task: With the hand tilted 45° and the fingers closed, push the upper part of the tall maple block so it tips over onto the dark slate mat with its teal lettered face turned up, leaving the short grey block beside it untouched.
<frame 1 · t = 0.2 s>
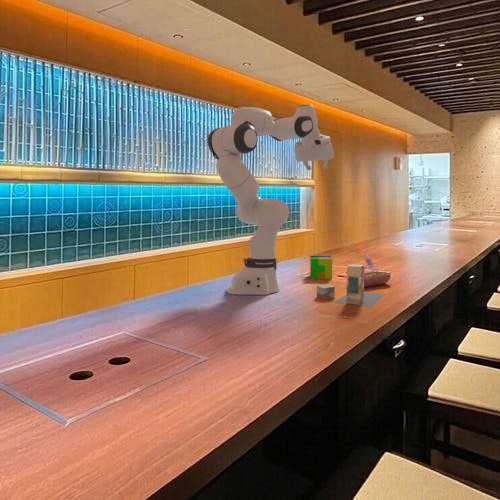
hand: (316, 169, 220), 52 cm above the counter, tool tilted 20°, fingers open, 8 cm apart
maple block: (355, 302, 176), resting on slate mat
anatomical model: (368, 286, 208), on the counter
puzzle toy: (320, 277, 230), on the counter
slate mat: (360, 299, 182), on the counter
lily: (369, 274, 236), on the counter
grey block: (325, 298, 184), on the counter
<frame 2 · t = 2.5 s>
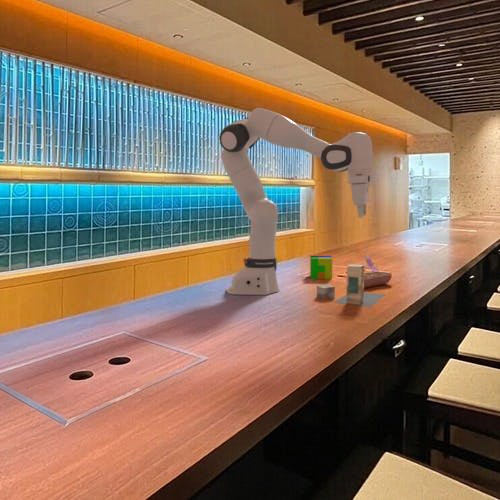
hand: (362, 216, 171), 33 cm above the counter, tool pointing down, fingers open, 8 cm apart
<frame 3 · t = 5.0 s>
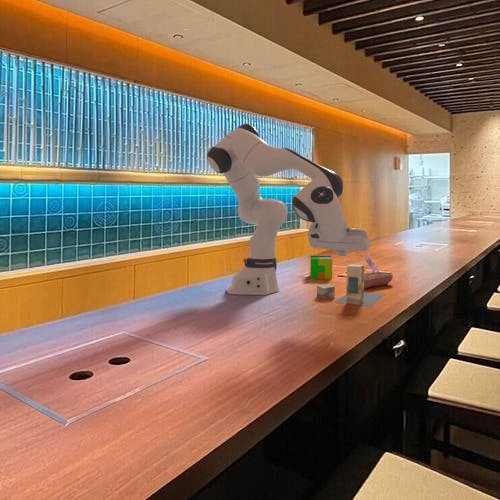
hand: (343, 254, 163), 20 cm above the counter, tool tilted 45°, fingers closed
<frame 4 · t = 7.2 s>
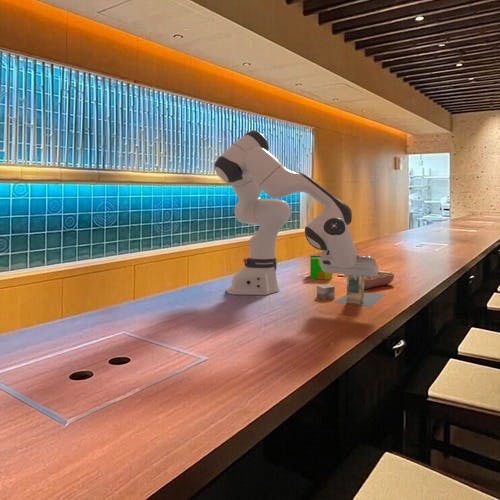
hand: (353, 278, 172), 10 cm above the counter, tool tilted 45°, fingers closed, pressing on maple block
maple block: (355, 301, 176), resting on slate mat, touching gripper
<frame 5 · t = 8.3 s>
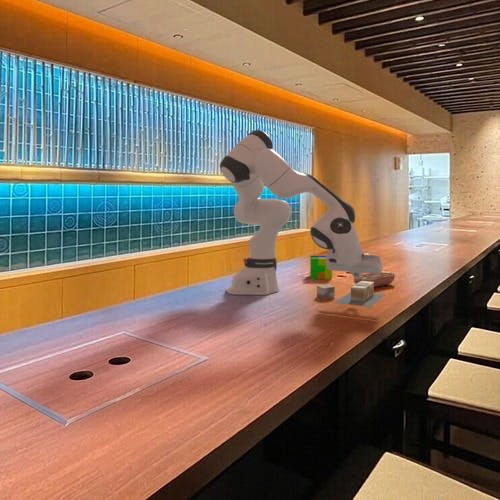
hand: (357, 276, 178), 10 cm above the counter, tool tilted 45°, fingers closed
maple block: (357, 294, 178), point 3 cm above the counter, tilted 90°, touching slate mat
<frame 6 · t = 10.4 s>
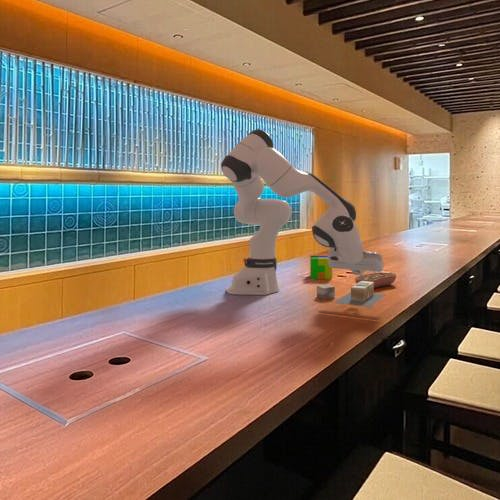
hand: (359, 273, 179), 10 cm above the counter, tool tilted 45°, fingers closed
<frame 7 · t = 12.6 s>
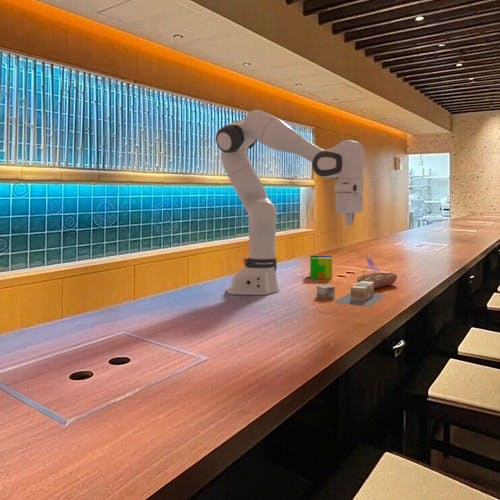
hand: (349, 225, 168), 30 cm above the counter, tool pointing down, fingers closed
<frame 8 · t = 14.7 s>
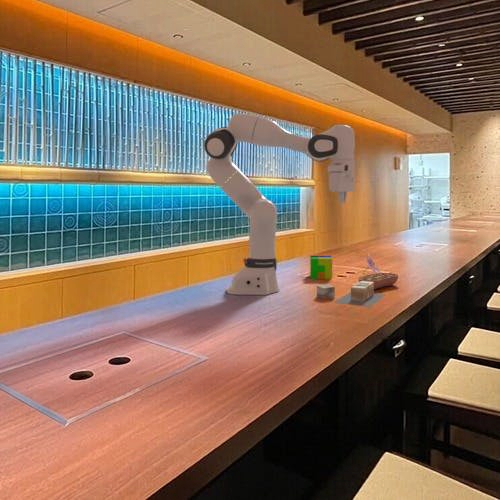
hand: (342, 203, 183), 37 cm above the counter, tool pointing down, fingers closed
at the end: maple block tilted 90°; maple block 4.4 cm from the slate mat (horizontally); grey block moved 0.1 cm from its start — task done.
